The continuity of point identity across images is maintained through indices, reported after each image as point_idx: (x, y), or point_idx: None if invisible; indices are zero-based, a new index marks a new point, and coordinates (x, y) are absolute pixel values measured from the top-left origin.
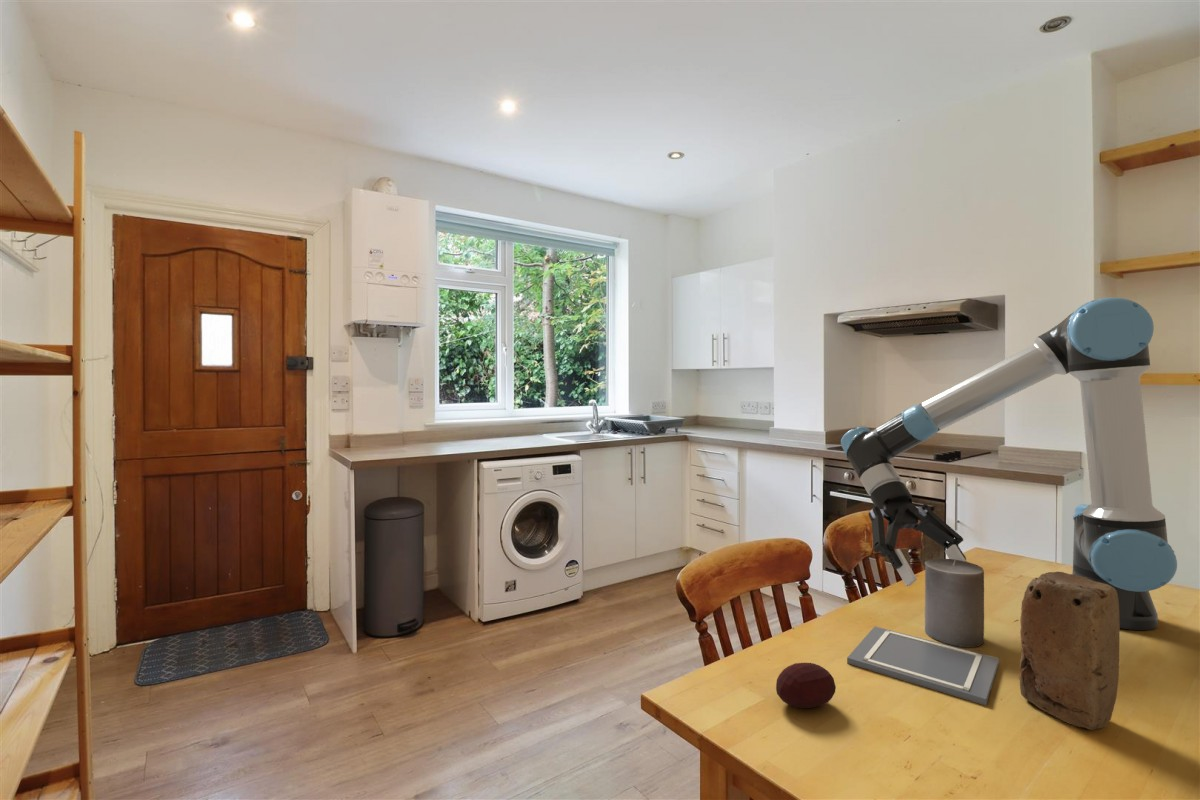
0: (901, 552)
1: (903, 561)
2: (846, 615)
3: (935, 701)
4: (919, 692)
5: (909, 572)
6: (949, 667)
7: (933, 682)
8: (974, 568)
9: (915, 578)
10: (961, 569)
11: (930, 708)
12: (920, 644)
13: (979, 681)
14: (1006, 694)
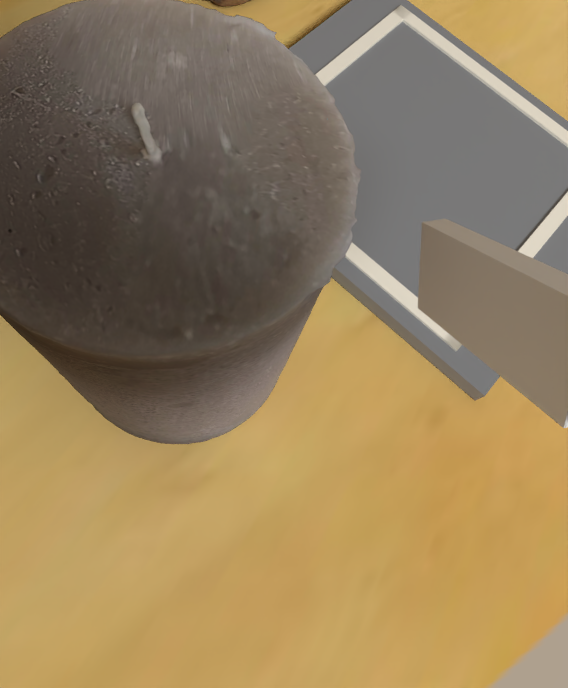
0: (560, 292)
1: (529, 259)
2: (535, 575)
3: (480, 22)
4: (499, 55)
5: (474, 234)
6: (377, 104)
7: (465, 48)
8: (44, 66)
9: (434, 222)
10: (168, 65)
11: (504, 4)
12: (383, 240)
13: (341, 37)
14: (288, 22)
